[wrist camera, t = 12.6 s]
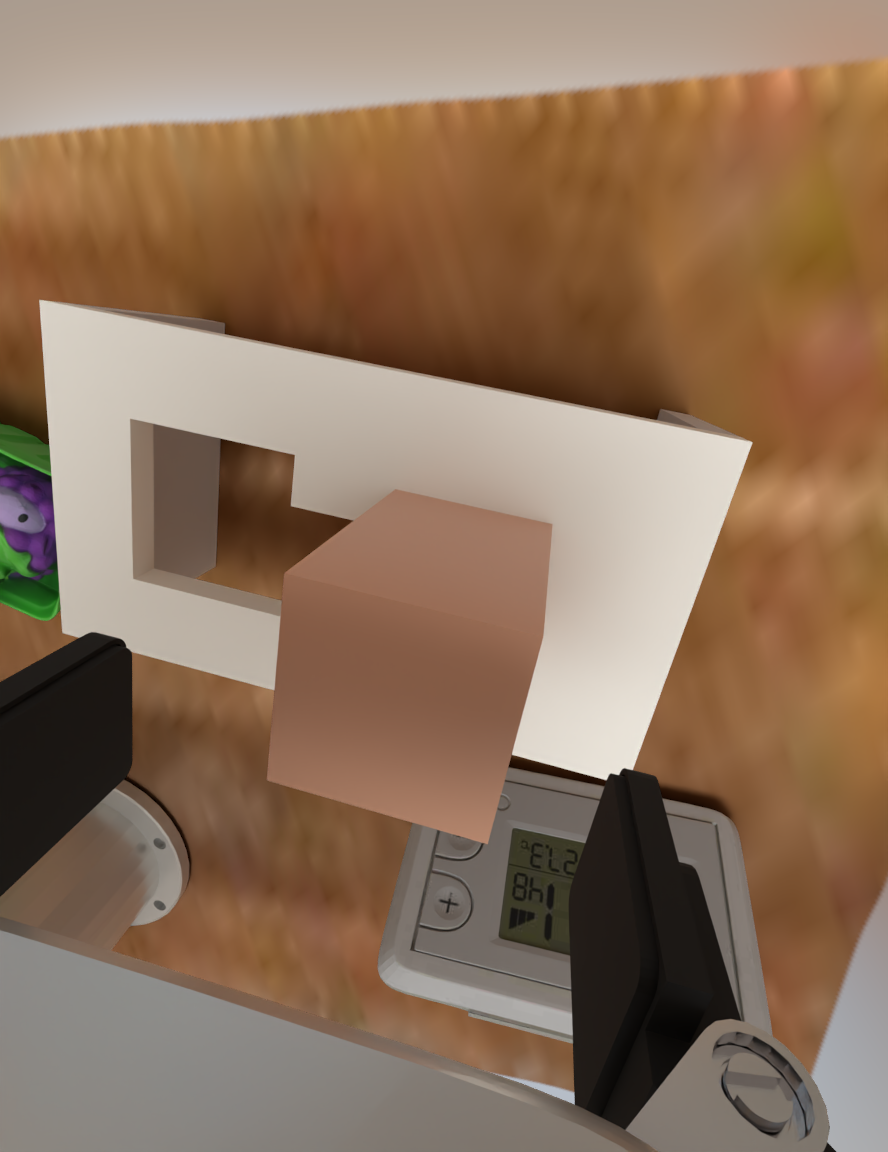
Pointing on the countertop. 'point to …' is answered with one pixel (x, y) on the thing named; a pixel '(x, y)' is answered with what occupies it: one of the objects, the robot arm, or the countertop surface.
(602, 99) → the countertop surface
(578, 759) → the keyhole board
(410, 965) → the digital clock
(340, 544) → the peg
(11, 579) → the fruit basket
